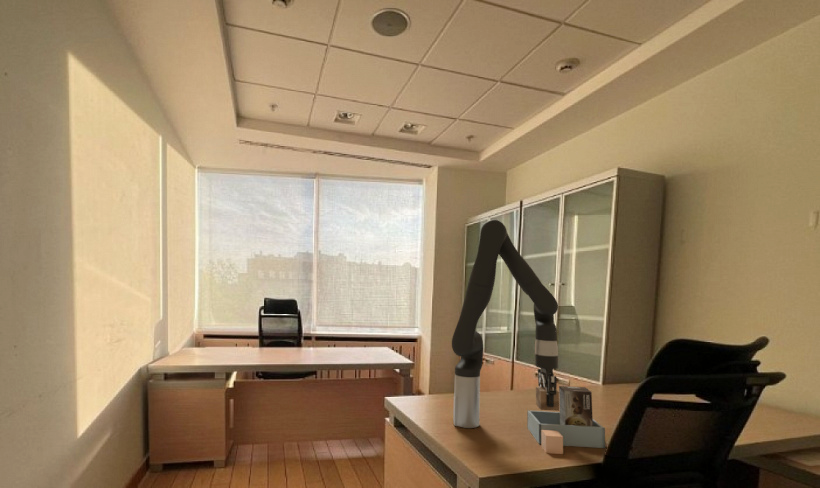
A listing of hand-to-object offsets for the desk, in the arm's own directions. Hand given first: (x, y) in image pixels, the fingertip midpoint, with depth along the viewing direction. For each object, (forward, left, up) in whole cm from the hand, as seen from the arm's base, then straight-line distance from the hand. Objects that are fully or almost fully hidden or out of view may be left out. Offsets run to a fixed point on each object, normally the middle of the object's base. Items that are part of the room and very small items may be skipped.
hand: (547, 403), depth 127 cm
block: (0, 0, -1) cm, 1 cm away
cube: (-2, -11, -11) cm, 16 cm away
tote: (+5, 0, -11) cm, 12 cm away
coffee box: (+9, 0, -11) cm, 14 cm away
